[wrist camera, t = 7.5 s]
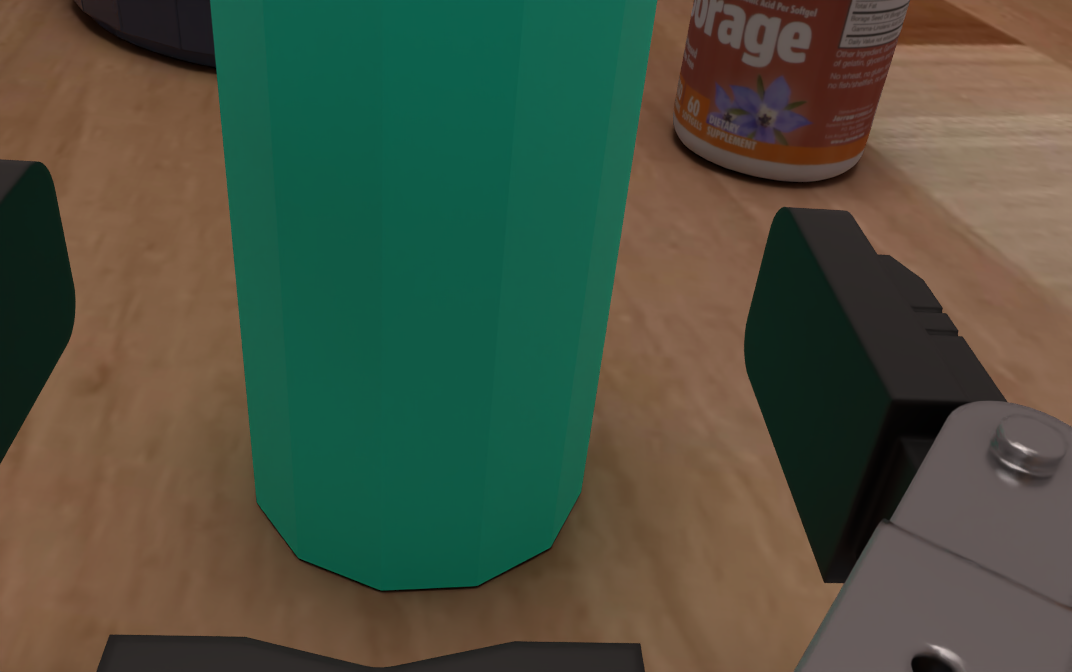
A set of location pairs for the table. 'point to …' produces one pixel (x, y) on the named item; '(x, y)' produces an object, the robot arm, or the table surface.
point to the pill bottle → (784, 83)
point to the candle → (425, 266)
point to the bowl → (159, 26)
